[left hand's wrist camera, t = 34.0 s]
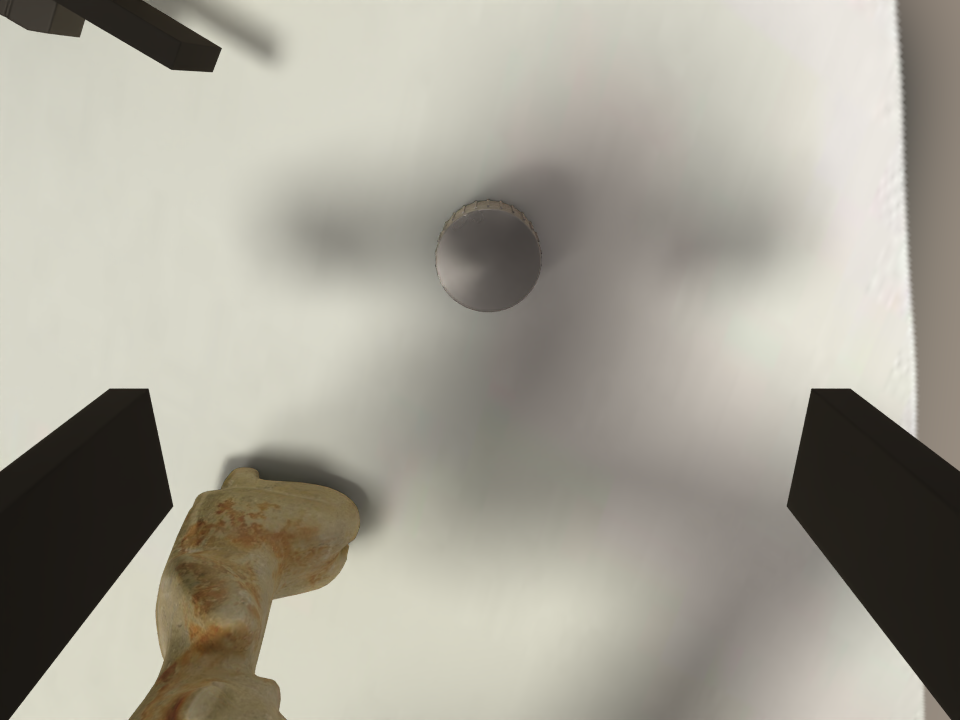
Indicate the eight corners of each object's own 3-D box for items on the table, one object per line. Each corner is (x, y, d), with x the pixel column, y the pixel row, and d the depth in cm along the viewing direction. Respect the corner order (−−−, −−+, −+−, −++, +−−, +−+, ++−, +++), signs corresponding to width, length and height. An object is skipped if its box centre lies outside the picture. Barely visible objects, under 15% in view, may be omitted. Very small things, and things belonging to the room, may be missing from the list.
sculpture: (340, 571, 33) (232, 925, 19) (201, 526, 32) (-20, 867, 18) (376, 482, 30) (285, 810, 17) (229, 431, 29) (1, 736, 16)
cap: (558, 262, 26) (563, 275, 25) (475, 316, 27) (475, 332, 26) (501, 177, 25) (503, 184, 23) (417, 238, 26) (412, 248, 24)
